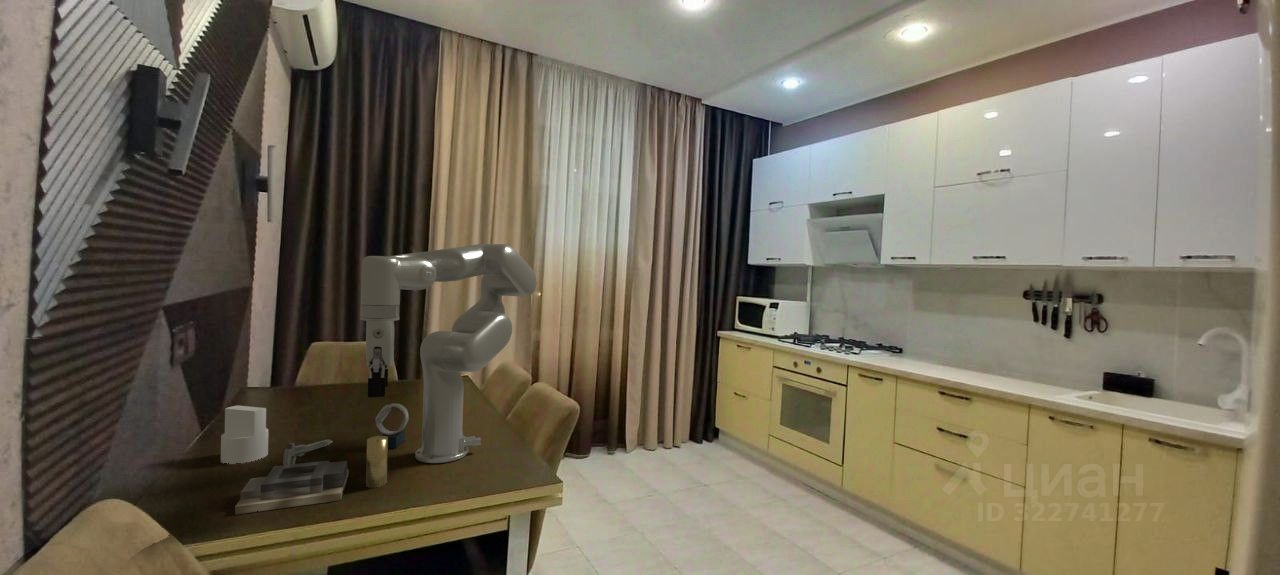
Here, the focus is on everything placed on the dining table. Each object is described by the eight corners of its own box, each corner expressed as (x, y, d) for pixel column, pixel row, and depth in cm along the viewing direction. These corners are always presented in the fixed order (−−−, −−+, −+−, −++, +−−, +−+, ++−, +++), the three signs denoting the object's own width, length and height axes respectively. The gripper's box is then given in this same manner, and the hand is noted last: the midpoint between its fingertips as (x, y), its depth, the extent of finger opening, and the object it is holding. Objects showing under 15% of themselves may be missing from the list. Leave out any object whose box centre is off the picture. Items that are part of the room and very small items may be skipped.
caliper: (287, 473, 112) (288, 445, 112) (282, 473, 112) (283, 445, 112) (332, 443, 132) (333, 420, 132) (328, 443, 132) (329, 420, 132)
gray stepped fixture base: (348, 475, 111) (348, 456, 111) (340, 500, 99) (341, 478, 99) (255, 487, 103) (255, 465, 103) (235, 514, 92) (235, 490, 92)
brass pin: (387, 479, 109) (388, 435, 109) (386, 486, 106) (387, 440, 106) (366, 482, 108) (367, 436, 108) (365, 489, 104) (366, 442, 104)
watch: (380, 441, 134) (381, 401, 134) (410, 441, 134) (412, 401, 134) (370, 448, 128) (371, 406, 128) (402, 448, 129) (403, 407, 129)
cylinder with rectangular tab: (277, 452, 123) (278, 405, 123) (242, 465, 114) (243, 414, 114) (247, 449, 125) (248, 402, 125) (210, 462, 116) (211, 411, 116)
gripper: (398, 316, 100) (395, 399, 100) (400, 310, 116) (398, 382, 116) (355, 316, 97) (353, 402, 97) (364, 310, 113) (362, 384, 113)
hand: (378, 391), depth 106 cm, fingers open, 9 cm apart
